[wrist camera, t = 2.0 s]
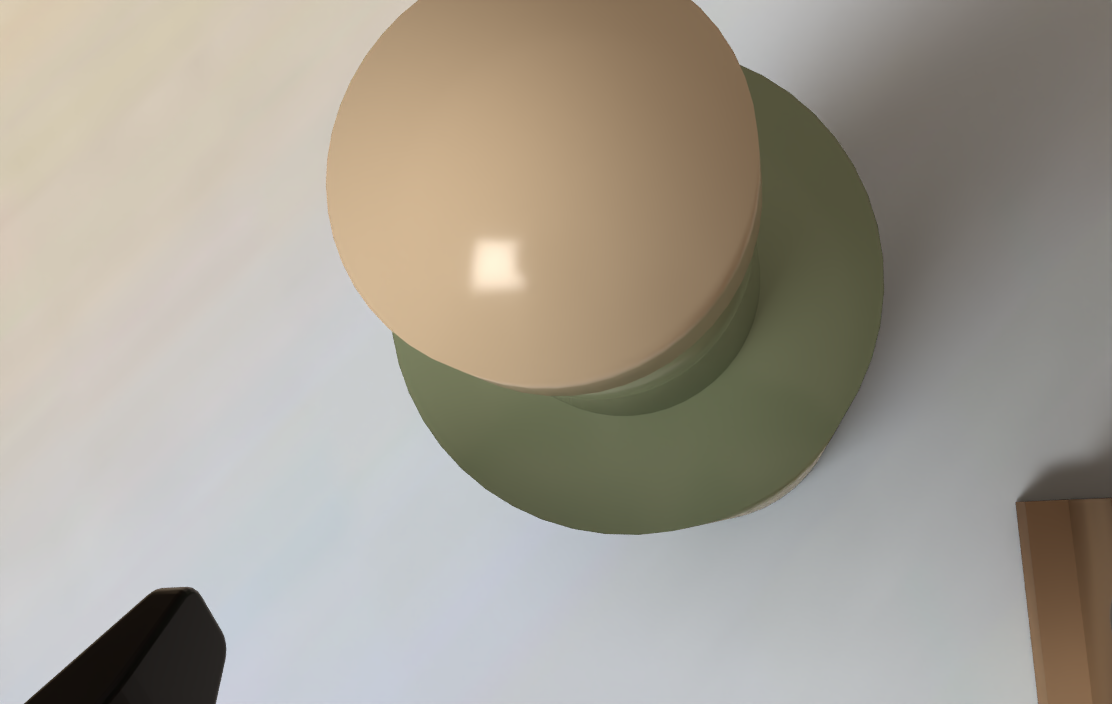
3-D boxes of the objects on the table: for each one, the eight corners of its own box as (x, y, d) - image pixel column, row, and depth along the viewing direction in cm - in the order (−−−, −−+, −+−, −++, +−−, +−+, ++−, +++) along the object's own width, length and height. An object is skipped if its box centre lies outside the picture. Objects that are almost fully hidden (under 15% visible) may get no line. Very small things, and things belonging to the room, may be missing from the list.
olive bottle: (851, 514, 20) (982, 535, 6) (580, 526, 21) (181, 565, 7) (827, 246, 20) (897, -263, 7) (567, 270, 22) (189, -126, 8)
